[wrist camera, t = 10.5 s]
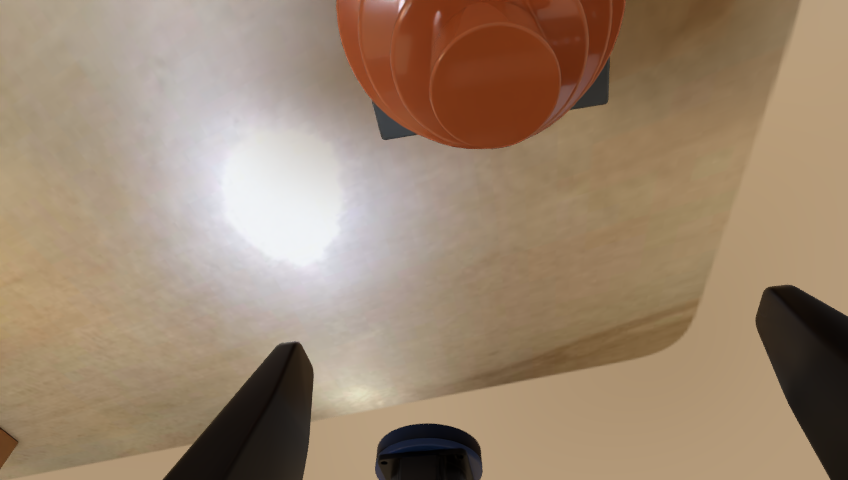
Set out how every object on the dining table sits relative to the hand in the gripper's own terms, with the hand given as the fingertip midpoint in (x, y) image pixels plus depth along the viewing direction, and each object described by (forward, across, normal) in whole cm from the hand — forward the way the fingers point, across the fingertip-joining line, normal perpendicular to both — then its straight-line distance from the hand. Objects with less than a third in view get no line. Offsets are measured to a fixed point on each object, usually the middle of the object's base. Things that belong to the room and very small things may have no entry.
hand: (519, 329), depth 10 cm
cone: (+6, 0, -5) cm, 7 cm away
